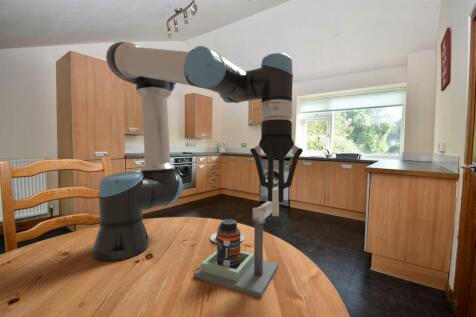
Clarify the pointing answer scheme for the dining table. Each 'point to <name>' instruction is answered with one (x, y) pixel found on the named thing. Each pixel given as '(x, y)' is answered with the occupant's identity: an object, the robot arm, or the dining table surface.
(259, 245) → the socket base
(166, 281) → the dining table surface
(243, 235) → the pudding
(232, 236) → the supplement bottle
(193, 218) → the dining table surface
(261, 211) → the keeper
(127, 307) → the dining table surface
